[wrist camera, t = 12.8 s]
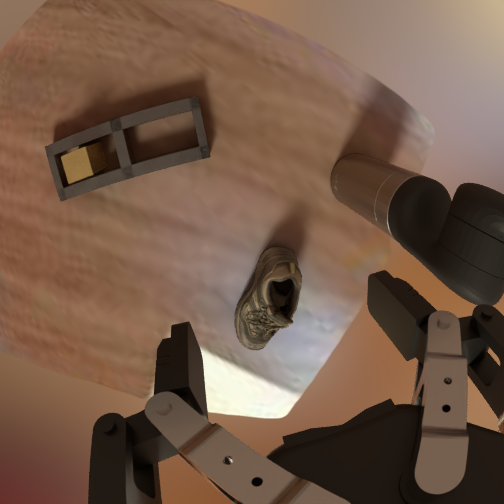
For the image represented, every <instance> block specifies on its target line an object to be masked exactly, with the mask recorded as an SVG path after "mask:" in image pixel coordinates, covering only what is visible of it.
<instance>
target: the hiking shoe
mask: <svg viewBox="0 0 504 504" xmlns="http://www.w3.org/2000/svg"><path fill="white" fill-rule="evenodd" d="M301 278H302V275H301V272H300V270H299V268H298V262H297V260H296V256H295V254H294V252H293V251H291V250H290V249H287V248H283V247H272V248H269V249H268V250H266V251H264V253H263V254H262V255H261V257H260V261H259V262H258V263H257V269H256V270H255V279H254V282H253V285H252V287H251V288H250V290H249V291H248V292H247V293H245V294H244V295H243V296H242V299H241V300H240V301H239V303H238V305H237V310H236V311H235V328H236V334H237V337H238V339H239V341H240V343H241V344H242V345H243V346H244V347H246V348H247V349H250V350H260V349H263V348H264V347H265V345H266V344H267V343H268V342H269V340H270V339H271V338H272V336H274V335H275V333H276V332H277V331H278V330H279V329H280V328H281V329H283V328H287V327H288V326H289V325H291V324H292V323H293V320H292V319H291V318H292V317H293V314H294V313H295V311H296V309H297V305H298V300H299V295H300V290H301V283H302V279H301ZM271 299H274V300H273V302H272V300H271Z"/></svg>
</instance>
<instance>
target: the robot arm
mask: <svg viewBox="0 0 504 504" xmlns="http://www.w3.org/2000/svg"><path fill="white" fill-rule="evenodd" d="M331 188H332V191H333V194H334V195H335V197H336V198H337V199H338V200H339V201H340V202H341V203H343V204H344V205H346V206H347V207H349V208H350V209H352V210H353V211H355V212H356V213H358V214H359V215H361V216H362V217H364V218H365V219H366V220H368V221H369V222H371V223H372V224H374V225H375V226H377V227H378V228H379V229H381V230H382V231H384V232H385V233H387V234H388V235H389V236H391V237H392V238H393V239H395V240H396V241H398V242H399V243H400V244H401V246H402V247H403V248H404V249H406V250H407V251H408V252H409V253H410V254H412V255H413V256H414V257H415V258H416V259H418V260H419V261H420V262H421V263H422V264H423V265H424V266H425V267H426V268H427V269H429V270H430V271H431V272H432V273H433V274H434V275H435V276H436V277H437V278H438V279H439V280H440V281H441V282H443V283H444V284H445V285H446V286H447V287H448V288H449V289H451V290H452V291H453V292H455V293H456V294H457V295H459V296H460V297H462V298H463V299H465V300H467V301H469V302H471V303H473V304H475V305H478V306H476V307H475V308H474V310H473V314H472V316H468V317H462V318H457V317H456V316H455V315H454V314H453V313H451V312H448V311H437V310H436V309H435V308H434V307H433V306H432V305H431V304H430V303H429V302H427V301H426V299H424V298H423V297H422V296H421V295H419V293H418V292H417V291H416V290H415V289H413V287H412V286H411V285H409V284H408V283H407V282H406V281H404V280H402V279H399V278H393V277H392V276H391V275H390V274H389V273H388V272H387V271H385V270H383V271H380V272H377V273H373V274H370V275H369V277H368V297H367V305H368V309H369V312H370V314H371V315H372V316H373V318H374V319H375V320H376V322H377V323H378V324H379V326H380V327H381V328H382V329H383V331H384V332H385V333H386V334H387V336H388V337H389V338H390V340H391V341H392V342H393V344H394V345H395V346H396V347H397V349H398V350H399V351H400V353H401V354H402V355H403V357H404V358H405V359H406V361H409V360H411V359H413V358H415V357H416V358H417V359H418V362H417V368H416V376H415V384H414V391H413V397H412V402H411V404H398V405H394V403H393V402H392V400H391V399H388V400H386V401H384V402H382V403H379V404H377V405H374V406H372V407H370V408H368V409H366V410H364V411H362V412H361V413H360V414H358V415H357V416H355V417H354V418H352V419H351V420H349V421H348V422H346V423H344V424H342V425H339V426H330V427H321V428H311V429H308V430H305V431H301V432H298V433H294V434H290V435H287V436H283V441H284V444H283V445H281V446H279V447H277V448H276V449H274V450H273V451H271V452H270V453H269V454H268V455H267V456H266V457H264V456H263V455H261V454H259V453H258V452H257V451H255V450H254V449H252V448H251V447H249V446H248V445H246V444H245V443H243V442H242V441H241V440H239V439H238V438H237V437H235V436H234V435H233V434H231V433H230V432H228V431H227V430H226V429H224V428H223V427H222V426H220V425H218V424H216V423H215V424H211V423H210V422H209V421H208V412H207V402H206V392H205V381H204V369H203V359H202V354H201V350H200V347H199V345H198V342H197V340H196V337H195V334H194V332H193V329H192V327H191V324H190V322H184V323H179V324H175V325H172V326H171V338H166V339H163V340H162V341H161V343H160V345H159V347H158V348H157V360H156V371H155V384H154V396H152V397H151V398H150V399H149V400H148V402H147V403H146V406H145V409H144V410H143V411H141V412H139V413H137V414H134V415H132V416H129V417H127V418H123V417H122V416H121V415H120V414H117V413H108V414H105V415H103V416H101V417H100V418H99V419H98V420H97V421H96V423H95V425H94V428H93V436H92V446H91V458H90V472H89V497H88V504H162V499H161V490H160V480H159V468H158V462H160V461H162V460H165V459H167V458H170V457H172V456H174V455H177V454H179V455H180V456H181V457H182V458H183V459H184V460H185V461H186V462H187V463H188V464H189V465H190V466H191V467H192V468H193V469H194V470H196V471H197V472H198V473H199V474H200V475H201V476H202V477H203V478H205V479H206V480H207V481H208V482H209V483H210V484H211V485H212V486H213V487H214V488H216V489H217V490H218V491H219V492H220V493H222V494H223V495H224V496H225V497H226V498H228V499H229V500H230V501H232V502H233V503H234V504H504V316H503V315H502V314H501V313H500V312H499V311H498V310H497V309H496V308H495V307H493V305H495V304H496V303H497V302H498V301H499V300H500V299H501V297H502V295H503V293H504V194H502V193H500V192H497V191H496V190H493V189H491V188H489V187H486V186H483V185H480V184H475V183H464V184H461V185H460V186H459V187H458V188H457V190H456V192H455V194H454V197H453V200H452V201H451V198H450V195H449V193H448V191H447V190H446V188H445V187H444V186H443V185H442V184H440V183H439V182H437V181H436V180H433V179H431V178H428V177H425V176H423V175H420V174H418V173H415V172H412V171H409V170H406V169H404V168H401V167H398V166H395V165H392V164H389V163H386V162H383V161H380V160H377V159H374V158H371V157H368V156H364V155H361V154H349V155H347V156H345V157H343V158H342V159H340V160H339V161H338V162H337V164H336V165H335V167H334V169H333V171H332V174H331ZM489 347H490V348H491V349H492V350H493V352H494V353H495V354H496V355H497V356H498V358H499V360H500V366H499V365H498V364H497V362H496V361H494V359H493V358H492V357H491V355H490V354H489V353H488V349H489ZM467 375H468V376H469V377H470V379H471V380H472V381H473V383H474V384H475V386H476V387H477V388H478V390H479V391H480V393H481V394H482V395H483V397H484V398H485V400H486V401H487V403H488V404H489V405H490V407H491V408H492V410H493V411H494V413H495V414H496V416H497V417H498V419H499V420H498V427H499V431H498V432H496V431H493V430H490V429H486V428H483V427H480V426H477V425H474V424H471V423H468V422H467V394H468V388H467V387H468V383H467Z"/></svg>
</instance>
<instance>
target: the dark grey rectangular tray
mask: <svg viewBox="0 0 504 504" xmlns="http://www.w3.org/2000/svg"><path fill="white" fill-rule="evenodd" d="M188 111H192V114H193V119H194V124H195V128H196V133H197V138H198V142H199V145H197V146H193V147H189V148H185V149H181V150H177V151H173V152H169V153H166V154H162V155H158V156H155V157H151V158H148V159H144V160H141V161H137V162H135V159H134V155H133V151H132V147H131V143H130V139H129V135H128V130H127V128H130V127H133V126H137V125H140V124H143V123H147V122H150V121H154V120H157V119H161V118H165V117H168V116H172V115H176V114H180V113H184V112H188ZM109 134H112V135H113V139H114V143H115V147H116V151H117V155H118V159H119V162H120V166H121V167H118V168H115V169H112V170H109V171H106V172H103V173H100V174H97V175H94V176H91V177H88V178H85V179H83V180H80V181H77V182H74V183H72V184H69V183H68V180H67V177H66V173H65V170H64V166H63V163H62V159H61V156H62V152H64V151H66V150H69V149H71V148H74V147H76V146H79V145H82V144H84V143H87V142H89V141H92V140H95V139H98V138H100V137H103V136H106V135H109ZM45 150H46V153H47V157H48V161H49V165H50V168H51V172H52V175H53V179H54V182H55V185H56V189H57V192H58V195H59V198H60V201H64V200H67V199H69V198H72V197H75V196H78V195H80V194H83V193H86V192H89V191H92V190H95V189H98V188H101V187H104V186H107V185H110V184H113V183H117V182H120V181H123V180H126V179H130V178H133V177H136V176H140V175H143V174H147V173H150V172H154V171H157V170H161V169H165V168H168V167H172V166H176V165H180V164H184V163H188V162H192V161H196V160H200V159H204V158H209V157H210V152H209V148H208V143H207V138H206V133H205V129H204V124H203V119H202V114H201V109H200V105H199V100H198V96H195V97H191V98H187V99H183V100H178V101H174V102H171V103H167V104H163V105H159V106H156V107H152V108H149V109H145V110H142V111H138V112H135V113H132V114H129V115H126V116H123V117H120V118H117V119H114V120H111V121H108V122H105V123H102V124H99V125H97V126H94V127H91V128H89V129H86V130H84V131H81V132H78V133H76V134H73V135H71V136H69V137H66V138H64V139H61V140H59V141H57V142H55V143H52V144H50V145H48V146H46V147H45Z"/></svg>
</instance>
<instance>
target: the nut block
mask: <svg viewBox="0 0 504 504" xmlns="http://www.w3.org/2000/svg"><path fill="white" fill-rule="evenodd" d="M61 159H62V163H63V166H64V170H65V173H66V177H67V180H68V183H69V184H70V183H72V182H75V181H78V180H80V179H83V178H86V177H88V176H91V175H94V174H95V173H97V172H98V171H100V170H102V169H103V168H105V167H107V163H106V160H105V156H104V152H103V149H102V145H101V142H99V143H95V144H92V145H89V146H86V147H83V148H80V149H78V150H76V151H73V152H71V153H68V154H66V155H63V156H61Z"/></svg>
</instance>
